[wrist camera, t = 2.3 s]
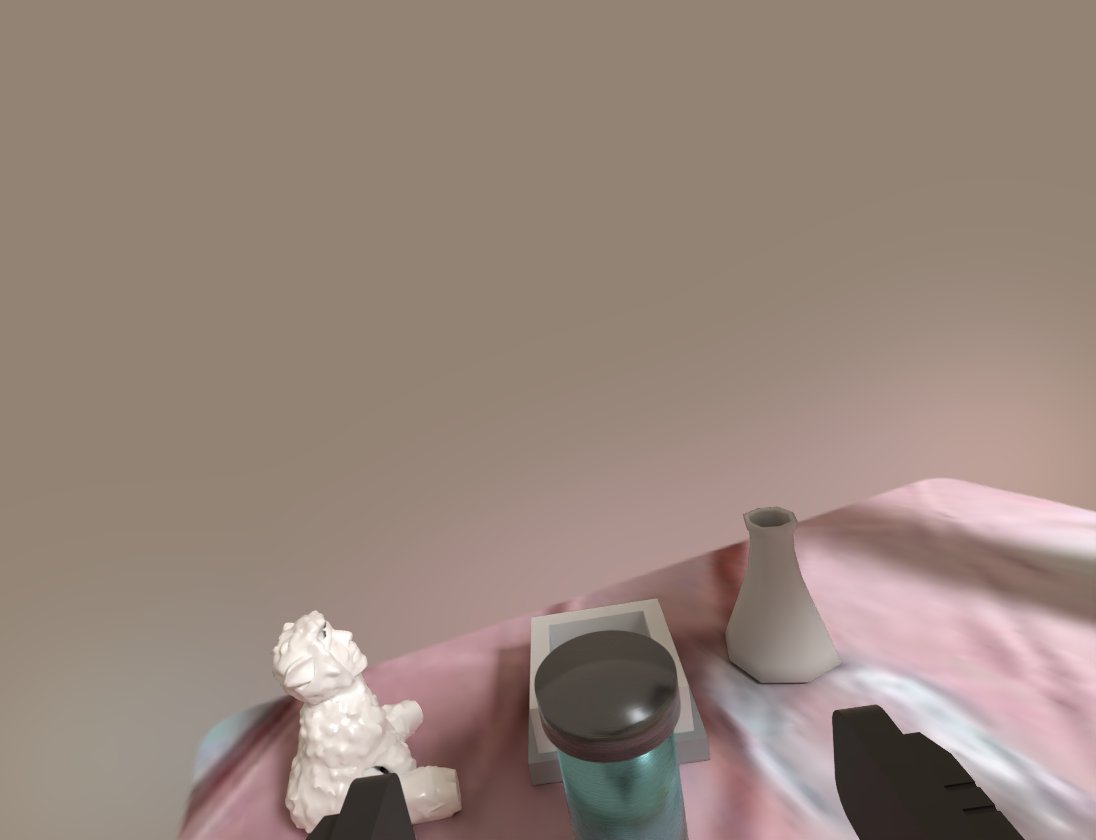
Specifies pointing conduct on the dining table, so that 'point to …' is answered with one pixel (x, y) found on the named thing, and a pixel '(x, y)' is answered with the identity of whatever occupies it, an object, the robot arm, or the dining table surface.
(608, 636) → the teal capped jar
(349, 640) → the seated beast figurine
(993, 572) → the dining table surface
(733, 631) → the flask
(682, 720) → the dock
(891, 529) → the dining table surface
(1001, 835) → the robot arm
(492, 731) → the dining table surface
